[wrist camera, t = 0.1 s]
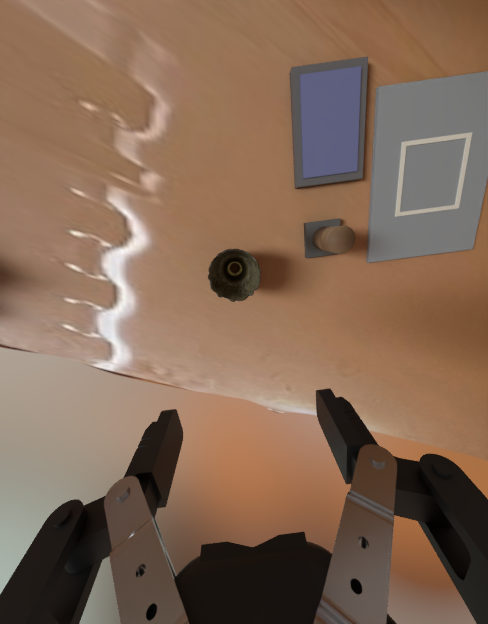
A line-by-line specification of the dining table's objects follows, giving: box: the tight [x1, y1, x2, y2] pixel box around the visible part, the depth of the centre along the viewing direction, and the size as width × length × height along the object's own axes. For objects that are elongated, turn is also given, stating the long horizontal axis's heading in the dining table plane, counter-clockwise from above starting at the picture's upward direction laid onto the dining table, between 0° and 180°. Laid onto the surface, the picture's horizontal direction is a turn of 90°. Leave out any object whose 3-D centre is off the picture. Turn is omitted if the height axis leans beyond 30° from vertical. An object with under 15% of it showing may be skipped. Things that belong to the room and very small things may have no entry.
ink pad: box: [290, 57, 368, 189], centre depth 32 cm, size 14×10×2 cm
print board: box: [367, 71, 488, 263], centre depth 35 cm, size 24×18×1 cm
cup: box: [208, 249, 261, 302], centre depth 35 cm, size 8×7×8 cm
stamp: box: [304, 219, 355, 258], centre depth 34 cm, size 6×6×8 cm
